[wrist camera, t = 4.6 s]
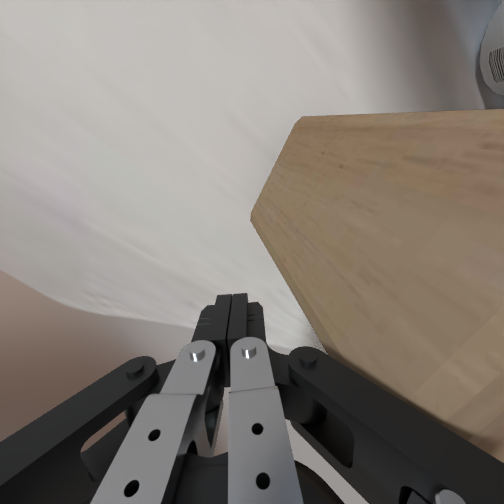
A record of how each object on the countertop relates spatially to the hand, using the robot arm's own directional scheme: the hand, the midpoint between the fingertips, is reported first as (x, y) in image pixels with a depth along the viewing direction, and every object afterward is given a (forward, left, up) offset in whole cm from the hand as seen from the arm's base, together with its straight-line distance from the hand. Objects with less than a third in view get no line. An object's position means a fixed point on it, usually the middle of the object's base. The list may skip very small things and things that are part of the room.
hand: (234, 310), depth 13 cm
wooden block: (-3, +7, -14) cm, 16 cm away
